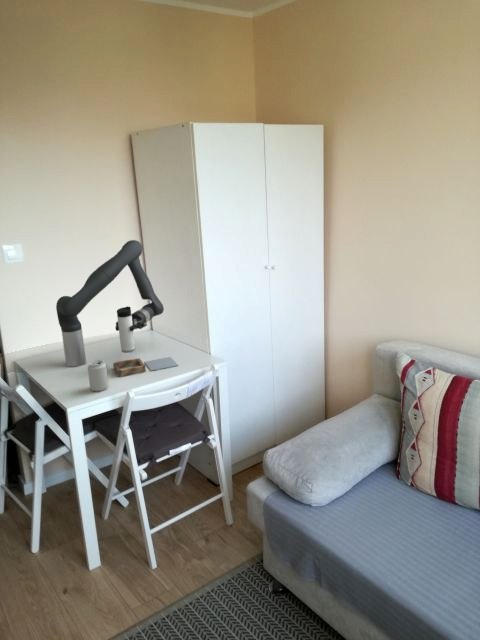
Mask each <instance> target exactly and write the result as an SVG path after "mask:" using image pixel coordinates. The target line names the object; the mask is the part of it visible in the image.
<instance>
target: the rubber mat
mask: <svg viewBox="0 0 480 640" xmlns="http://www.w3.org/2000/svg"><path fill="white" fill-rule="evenodd" d="M143 363H144V365H145V366H146V367H147V368H148V369H149V371H150V372H154V371H155V372H157V371H161V370H164V369H165V370H166V369H170V368H175V367H179V364H178V363H177V361H175V360H174V359H173V358H172V357H171V356H168V357H163V358H157V359H152V360H146V361H144V362H143Z"/></svg>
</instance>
